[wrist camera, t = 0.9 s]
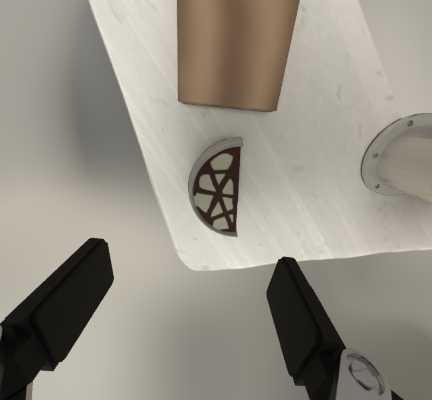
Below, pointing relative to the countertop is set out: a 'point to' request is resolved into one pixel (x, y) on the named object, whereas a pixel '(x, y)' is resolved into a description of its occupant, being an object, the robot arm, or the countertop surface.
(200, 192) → the food container
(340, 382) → the robot arm
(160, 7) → the countertop surface
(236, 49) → the walnut stand
